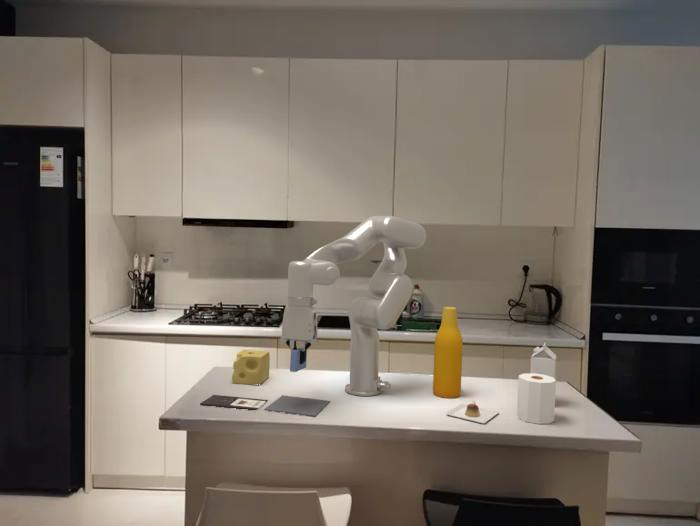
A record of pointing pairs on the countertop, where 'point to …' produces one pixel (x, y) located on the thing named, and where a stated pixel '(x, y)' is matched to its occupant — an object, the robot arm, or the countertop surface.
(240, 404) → the chocolate bar
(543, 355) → the milk carton
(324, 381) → the countertop surface
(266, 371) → the cheese
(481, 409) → the dessert
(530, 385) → the toilet paper
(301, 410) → the mat
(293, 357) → the card box
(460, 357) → the beer bottle
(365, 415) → the countertop surface
